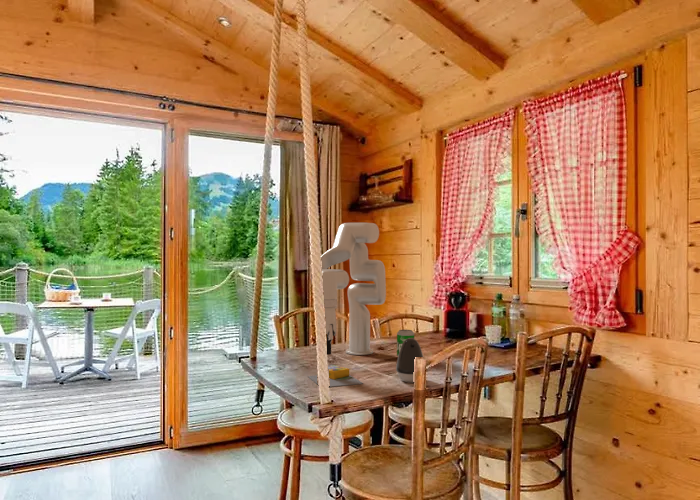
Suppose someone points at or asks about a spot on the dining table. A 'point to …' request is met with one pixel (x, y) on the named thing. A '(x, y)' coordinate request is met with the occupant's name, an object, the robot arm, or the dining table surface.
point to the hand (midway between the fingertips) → (326, 354)
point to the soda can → (403, 338)
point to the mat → (339, 383)
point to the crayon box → (338, 372)
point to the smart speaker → (408, 359)
